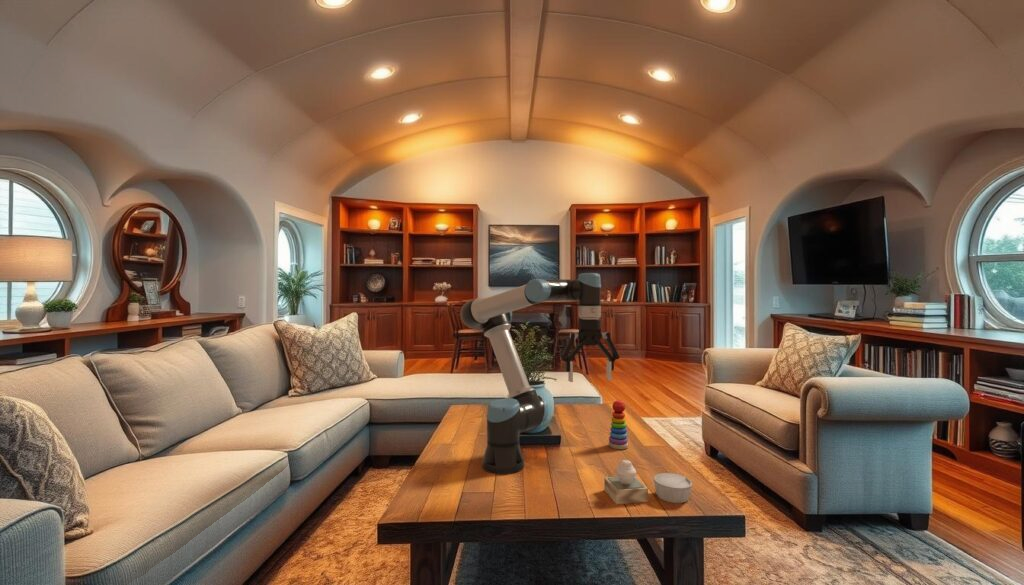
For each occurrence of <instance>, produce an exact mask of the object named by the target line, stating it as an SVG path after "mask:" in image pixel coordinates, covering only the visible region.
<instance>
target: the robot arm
mask: <svg viewBox="0 0 1024 585" xmlns="http://www.w3.org/2000/svg"><path fill="white" fill-rule="evenodd" d="M601 280H602V279H601V275H600V273H597V272H583V273H579V274H578V278H576V279H572V278H571V279H566V278H565V279H563V278H561V279H555V278H541V277H540V278H532V279H530V280H529V281H528V282H527V283H526V284H523V285H520V286H518V287H514V288H512V289H509V290H505V291H503V292H500V293H498V294H494V295H492V296H488V297H486V298H480V297H479V298H475V299H471V300H468V301H466V302H465V303H464V304H463V305H462V307H461V310H460V320H461V321H462V323H463V324H464V325H465V326H466V327H468V328H470V329H472V330H473V329H474V330H481V329H482V333H483V336H484V337H485V338H488V339H489V341H490V344H491V347H492V350H493V353H494V355H495V357H496V361H497V364H498V366H499V369H500V372H501V374H502V378H503V379H504V383H505V386H506V389H507V391H508V397H506V398H505V397H504V398H498V399H495V400H493V401H491V402H490V403H489V404H488V405H487V408H486V409H487V410H486V411H487V412H486V448H485V451H484V454H483V458H482V461H481V464H482V465H481V466H482V469H483V470H484V471H486V472H488V473H490V474H496V475H508V474H514V473H518V472H520V471H523V470H524V468H525V458H524V456H523V453H522V449H521V446H520V434H521V433H524V432H527V431H530V430H533V429H536V428H537V429H538V428H539V427H540V426H542V425H543V424H545V422H546V421H547V419H548V416H549V406H548V403H547V401H546V399H545V398H544V397H542V396H541V395H538V393H537V390H536V388H533V387H531V385H530V384H529V383H530V382H529V381H528V378H527V375H526V372H525V369H524V368H523V365H522V361H521V359H520V357H519V354H518V351H517V349H516V346H515V343H514V340H513V338H512V335H511V332H510V330H511V327H512V324H511V323H512V321H513V320H512V319H513V318H512V317H513V312H514V311H515V312H516V311H518V310H520V309H524V308H528V307H530V306H534V305H536V304H541V303H544V302H562V301H563V302H564V301H566V302H568V301H569V302H572V301H573V302H574V301H576V302H578V317H579V319H578V332H577V333H574V332H569V336H568V340H567V342H566V344H565V347H564V348H563V350H562V352H561V354H560V357H559V358H560V361H562V362H563V361H564V362H565V372H566V373H568V381H569V382H570V383H574V380H573V379H574V363H573V362H572V360H573V359H574V358H575V357H576V355H577V354H578V352H580V350H581V349H582V348H583V347H584V346H585V347H590V346H591V347H596V346H597V347H598V348H599V350H600V351H601V352H602V353H603V354H604V355H605V357H606V358H607V359H608V360H606V361H605V362H606V363H605V364H606V380H607V381H609V382H610V381H612V371H614V370H615V362H616V360H619V359H620V355H619V353H618V352H617V349H616V347H615V345H614V343H613V341H612V339H611V333H610V332H608V331H605V332H602V320H601V319H600V318H601V317H602V307H601V306H602V303H601V301H602V299H601V296H602V293H601V292H602V283H601ZM577 339H578V342H577V343H576V345H575V346H574V348H572V346H573V344H574V342H575V340H577ZM601 339H604V340H605V342H606V344H607V347H608V349H609V350H610V352H609V350H608V349H607V348H606V347H605V345H603V343H602V342H601ZM571 349H572V350H571Z"/></svg>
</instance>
